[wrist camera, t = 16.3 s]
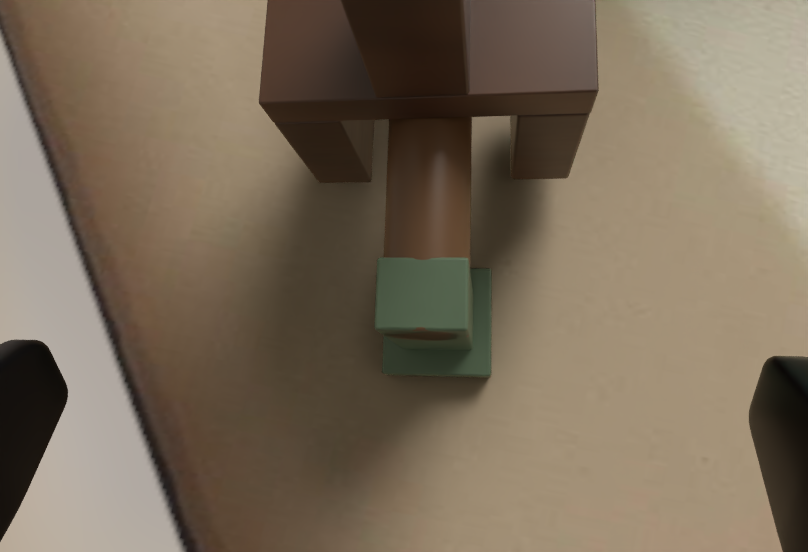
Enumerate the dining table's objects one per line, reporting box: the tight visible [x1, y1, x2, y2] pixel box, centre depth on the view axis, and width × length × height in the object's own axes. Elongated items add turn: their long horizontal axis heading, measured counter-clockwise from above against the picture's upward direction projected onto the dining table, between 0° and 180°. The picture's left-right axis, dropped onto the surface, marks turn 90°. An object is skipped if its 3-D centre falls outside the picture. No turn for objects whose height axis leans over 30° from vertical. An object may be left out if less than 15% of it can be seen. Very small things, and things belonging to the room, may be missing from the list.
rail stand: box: [374, 117, 491, 378], centre depth 17 cm, size 14×3×5 cm, turn 178°
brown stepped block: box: [259, 0, 598, 183], centre depth 14 cm, size 7×3×10 cm, turn 88°
